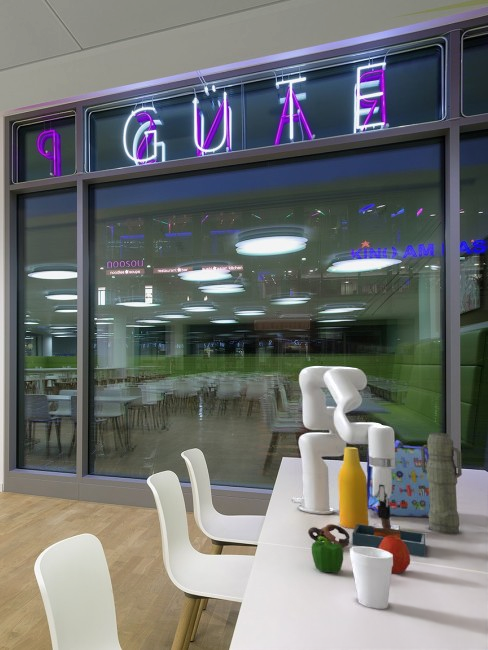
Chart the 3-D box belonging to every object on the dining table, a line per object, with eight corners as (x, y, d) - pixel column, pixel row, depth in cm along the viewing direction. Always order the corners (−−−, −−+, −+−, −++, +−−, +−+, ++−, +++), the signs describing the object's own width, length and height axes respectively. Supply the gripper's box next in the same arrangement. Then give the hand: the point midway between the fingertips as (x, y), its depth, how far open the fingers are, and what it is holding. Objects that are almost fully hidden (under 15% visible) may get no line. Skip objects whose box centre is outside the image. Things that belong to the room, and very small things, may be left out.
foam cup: (353, 593, 161) (351, 544, 162) (394, 601, 156) (392, 550, 157) (350, 605, 153) (348, 553, 154) (394, 614, 148) (392, 560, 149)
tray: (352, 545, 202) (352, 532, 202) (357, 535, 213) (356, 523, 213) (424, 556, 190) (424, 544, 190) (425, 546, 201) (425, 533, 201)
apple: (417, 577, 173) (415, 539, 173) (385, 575, 174) (384, 538, 175) (402, 567, 181) (401, 531, 181) (372, 565, 182) (371, 529, 183)
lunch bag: (421, 509, 248) (418, 439, 250) (440, 518, 234) (437, 444, 236) (364, 507, 252) (361, 438, 253) (379, 515, 238) (376, 442, 240)
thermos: (463, 536, 211) (458, 436, 214) (422, 529, 220) (418, 433, 222) (466, 531, 218) (462, 434, 220) (427, 524, 226) (422, 431, 228)
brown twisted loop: (339, 544, 204) (348, 526, 201) (345, 564, 196) (355, 546, 193) (302, 532, 207) (310, 515, 203) (306, 552, 199) (316, 534, 195)
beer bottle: (336, 522, 229) (333, 445, 231) (362, 523, 227) (359, 446, 229) (345, 529, 220) (342, 449, 222) (373, 530, 218) (369, 450, 220)
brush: (374, 538, 202) (369, 500, 203) (375, 534, 206) (371, 497, 208) (400, 540, 198) (395, 501, 199) (401, 536, 202) (396, 498, 203)
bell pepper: (338, 566, 181) (337, 533, 182) (348, 576, 173) (346, 541, 174) (307, 564, 183) (306, 531, 184) (316, 574, 175) (315, 539, 176)
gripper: (371, 458, 213) (373, 510, 212) (366, 464, 200) (368, 520, 199) (397, 460, 208) (399, 514, 207) (393, 467, 195) (396, 524, 194)
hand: (384, 516), depth 203 cm, fingers closed on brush, 2 cm apart
